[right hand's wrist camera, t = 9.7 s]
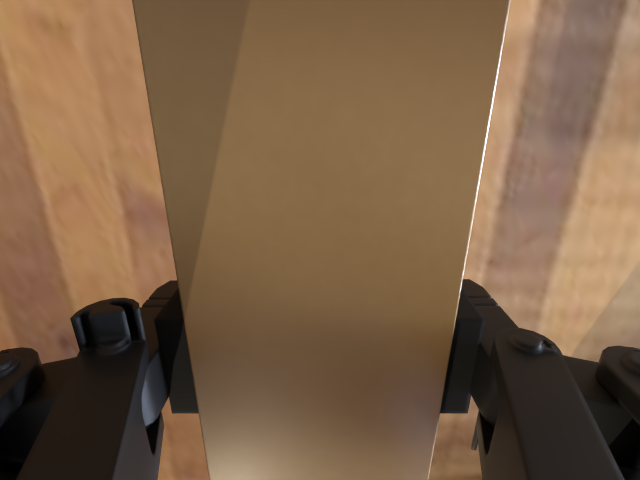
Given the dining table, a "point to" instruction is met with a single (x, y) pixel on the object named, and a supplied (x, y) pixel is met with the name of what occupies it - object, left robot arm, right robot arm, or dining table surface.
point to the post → (320, 218)
